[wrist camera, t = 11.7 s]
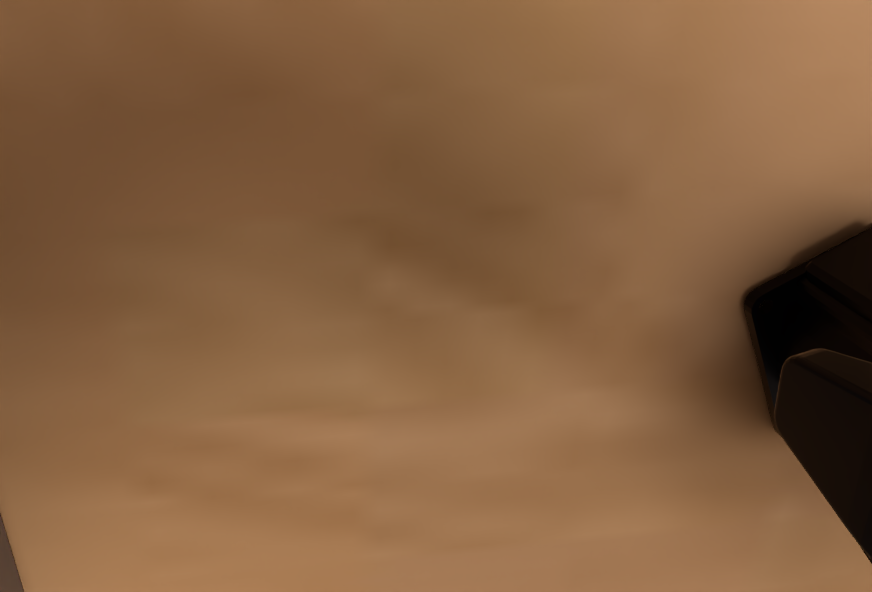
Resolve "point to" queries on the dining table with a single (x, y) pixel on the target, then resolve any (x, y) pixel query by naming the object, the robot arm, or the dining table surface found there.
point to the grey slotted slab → (7, 565)
